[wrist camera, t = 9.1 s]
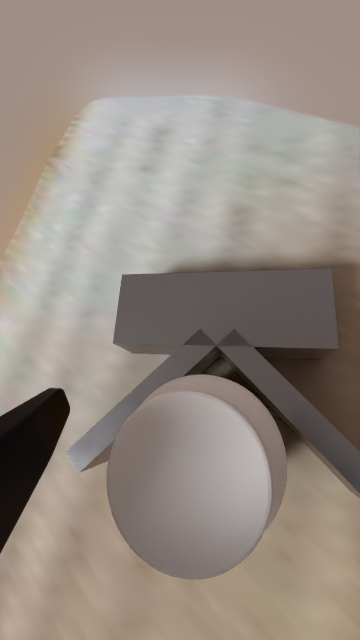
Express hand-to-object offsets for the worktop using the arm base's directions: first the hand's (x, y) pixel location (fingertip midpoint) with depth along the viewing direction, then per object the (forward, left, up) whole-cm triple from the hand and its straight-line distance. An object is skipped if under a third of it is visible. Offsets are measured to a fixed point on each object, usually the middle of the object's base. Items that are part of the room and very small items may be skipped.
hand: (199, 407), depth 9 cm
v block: (+2, 0, -8) cm, 8 cm away
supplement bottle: (-2, 0, -8) cm, 8 cm away
